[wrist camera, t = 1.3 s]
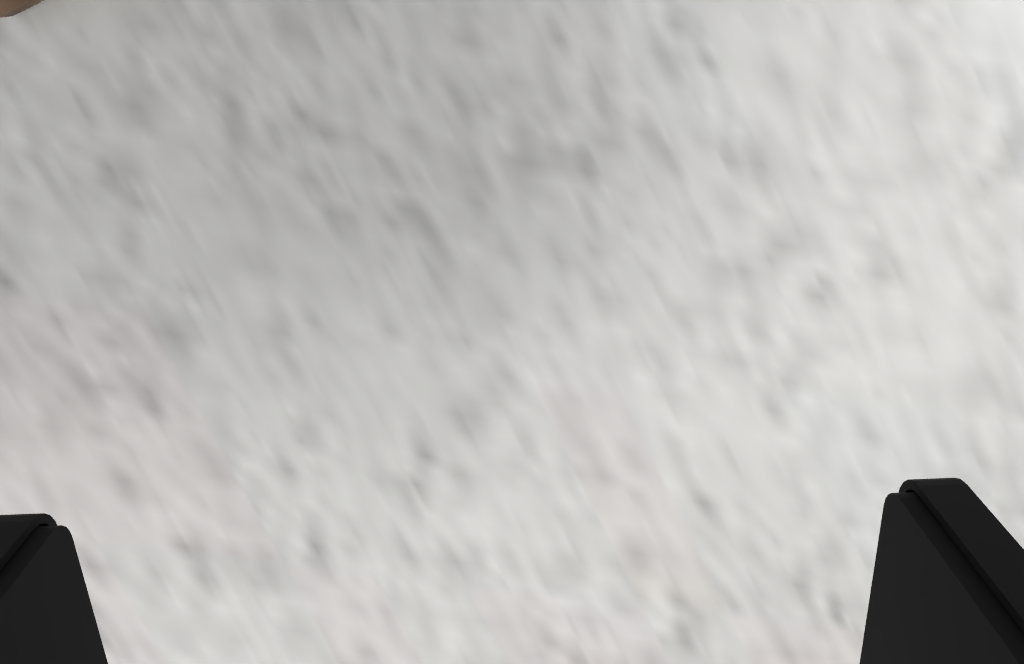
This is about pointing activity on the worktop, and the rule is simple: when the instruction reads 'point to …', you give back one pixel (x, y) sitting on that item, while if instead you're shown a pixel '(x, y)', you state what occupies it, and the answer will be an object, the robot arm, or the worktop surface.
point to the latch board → (15, 6)
